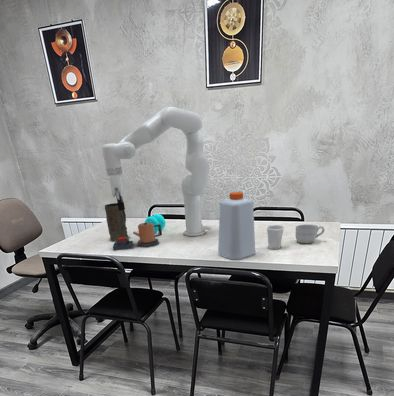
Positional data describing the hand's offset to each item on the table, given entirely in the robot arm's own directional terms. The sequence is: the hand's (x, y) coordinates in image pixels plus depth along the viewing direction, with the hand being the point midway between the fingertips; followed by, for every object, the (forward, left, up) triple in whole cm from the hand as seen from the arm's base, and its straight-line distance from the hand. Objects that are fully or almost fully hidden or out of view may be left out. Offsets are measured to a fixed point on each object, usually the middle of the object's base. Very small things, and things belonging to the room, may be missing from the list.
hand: (121, 209), depth 180 cm
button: (+2, +2, -16) cm, 16 cm away
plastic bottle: (-55, +31, -19) cm, 66 cm away
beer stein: (+6, -18, -19) cm, 27 cm away
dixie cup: (-75, +26, -19) cm, 82 cm away
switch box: (+2, +2, -19) cm, 20 cm away
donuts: (-15, -25, -19) cm, 35 cm away
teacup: (-94, +22, -19) cm, 99 cm away
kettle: (-12, 0, -17) cm, 21 cm away
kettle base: (-11, 0, -19) cm, 22 cm away
